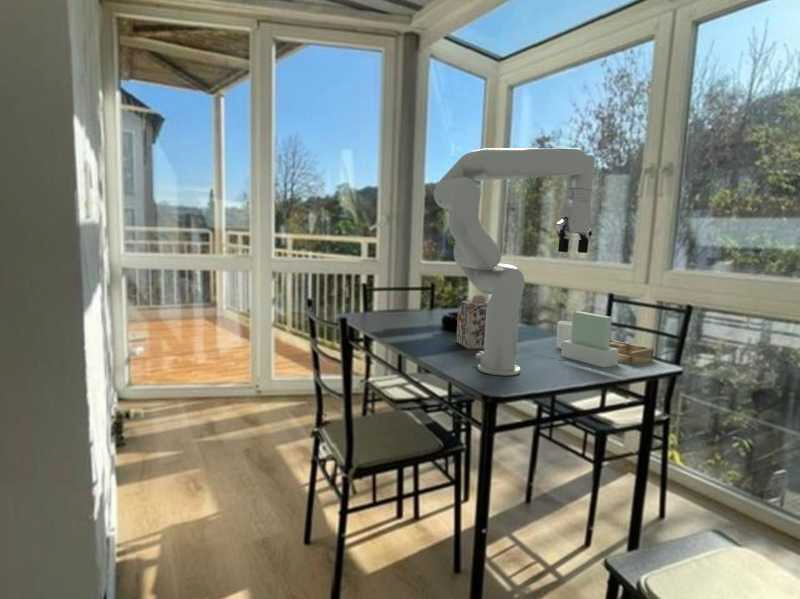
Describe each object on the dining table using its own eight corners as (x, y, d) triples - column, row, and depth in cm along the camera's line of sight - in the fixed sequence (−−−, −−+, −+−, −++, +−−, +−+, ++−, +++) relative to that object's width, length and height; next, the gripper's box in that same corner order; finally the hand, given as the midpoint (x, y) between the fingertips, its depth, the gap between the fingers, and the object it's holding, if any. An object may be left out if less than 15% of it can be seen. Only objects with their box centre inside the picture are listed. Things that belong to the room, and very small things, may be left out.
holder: (560, 358, 177) (562, 341, 176) (573, 356, 181) (575, 339, 180) (604, 370, 164) (605, 351, 163) (617, 367, 168) (618, 348, 167)
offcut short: (606, 348, 179) (607, 342, 179) (612, 347, 181) (612, 341, 180) (620, 351, 175) (621, 345, 175) (625, 350, 177) (626, 344, 176)
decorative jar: (485, 341, 200) (488, 293, 197) (498, 348, 188) (501, 298, 186) (455, 342, 196) (457, 293, 194) (466, 349, 185) (469, 298, 183)
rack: (582, 355, 182) (583, 341, 182) (603, 352, 189) (604, 338, 189) (632, 368, 168) (633, 352, 167) (652, 363, 175) (653, 348, 174)
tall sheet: (569, 356, 176) (573, 311, 174) (575, 355, 178) (578, 311, 176) (601, 365, 167) (606, 317, 165) (607, 363, 168) (611, 317, 166)
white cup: (583, 352, 187) (585, 324, 186) (563, 353, 185) (566, 325, 184) (569, 347, 195) (571, 320, 193) (550, 348, 192) (552, 320, 191)
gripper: (584, 198, 171) (579, 252, 173) (550, 193, 160) (544, 250, 163) (605, 198, 165) (600, 253, 167) (571, 193, 154) (565, 252, 157)
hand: (572, 252), depth 165 cm, fingers open, 9 cm apart
